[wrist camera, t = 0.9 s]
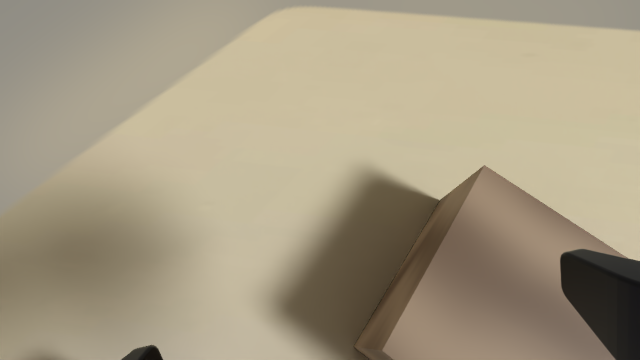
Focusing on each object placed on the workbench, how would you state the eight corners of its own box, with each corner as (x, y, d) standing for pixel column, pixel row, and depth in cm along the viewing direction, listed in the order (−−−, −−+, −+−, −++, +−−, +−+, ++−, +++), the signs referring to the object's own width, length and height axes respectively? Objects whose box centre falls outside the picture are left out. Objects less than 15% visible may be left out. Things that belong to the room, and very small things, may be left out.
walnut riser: (566, 509, 17) (677, 574, 12) (353, 346, 18) (381, 350, 14) (619, 320, 21) (718, 317, 16) (440, 200, 22) (484, 165, 18)
